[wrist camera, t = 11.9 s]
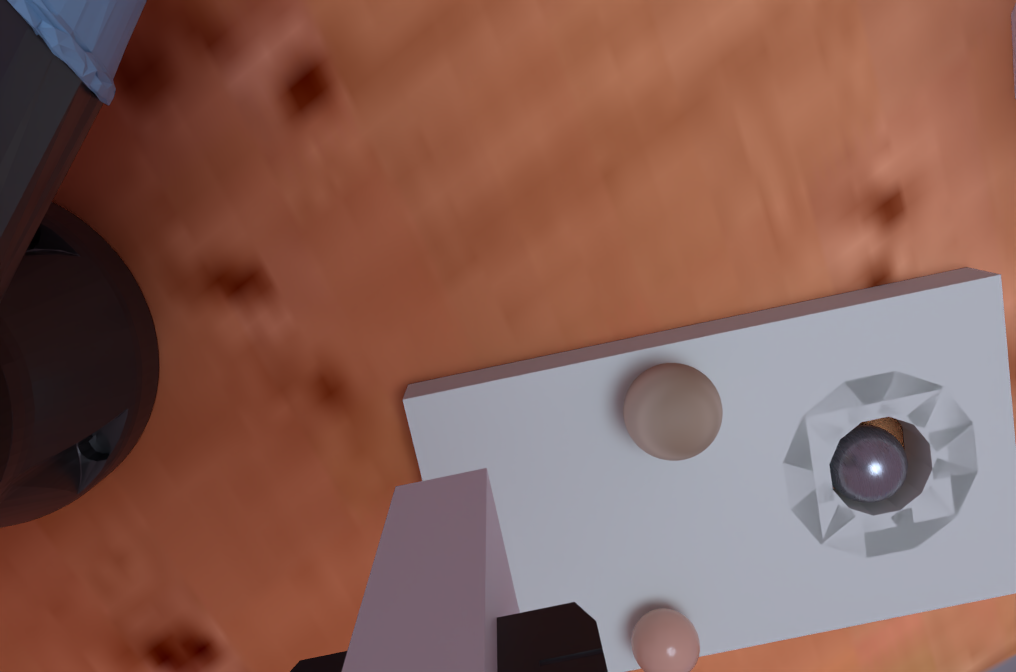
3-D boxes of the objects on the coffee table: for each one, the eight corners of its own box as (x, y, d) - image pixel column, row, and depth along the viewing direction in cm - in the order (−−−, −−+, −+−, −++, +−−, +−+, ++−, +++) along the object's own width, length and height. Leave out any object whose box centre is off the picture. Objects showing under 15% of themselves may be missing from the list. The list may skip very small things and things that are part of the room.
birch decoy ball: (625, 450, 36) (641, 484, 32) (608, 363, 35) (623, 388, 31) (714, 431, 36) (742, 464, 32) (700, 344, 35) (726, 367, 31)
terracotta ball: (632, 660, 38) (644, 701, 35) (620, 602, 38) (631, 639, 35) (695, 647, 38) (712, 687, 35) (685, 589, 38) (701, 625, 35)
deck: (477, 669, 41) (476, 701, 39) (408, 384, 38) (402, 399, 35) (995, 564, 40) (1027, 590, 38) (967, 267, 37) (1001, 274, 35)
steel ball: (866, 507, 35) (937, 479, 35) (827, 431, 36) (898, 405, 36) (833, 518, 38) (899, 492, 39) (799, 448, 39) (864, 424, 40)
